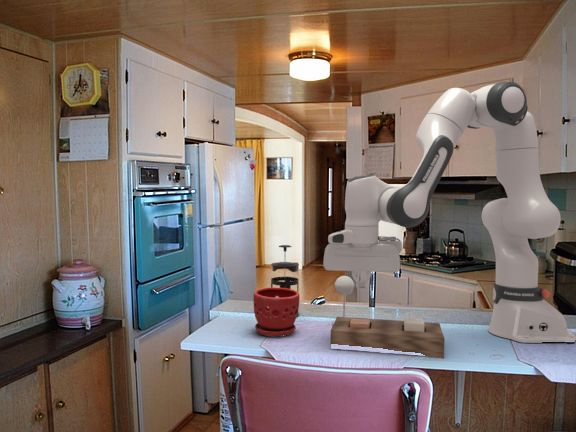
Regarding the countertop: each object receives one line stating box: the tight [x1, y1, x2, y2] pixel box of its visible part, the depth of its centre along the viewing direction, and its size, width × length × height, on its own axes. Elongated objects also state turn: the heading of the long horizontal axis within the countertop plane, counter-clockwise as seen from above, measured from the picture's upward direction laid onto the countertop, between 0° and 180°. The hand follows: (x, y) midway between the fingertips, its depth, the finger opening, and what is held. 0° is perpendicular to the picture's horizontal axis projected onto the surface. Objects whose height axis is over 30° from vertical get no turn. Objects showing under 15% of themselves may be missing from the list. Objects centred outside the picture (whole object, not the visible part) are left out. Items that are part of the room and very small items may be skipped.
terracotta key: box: [350, 317, 370, 329], centre depth 133 cm, size 5×5×4 cm
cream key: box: [403, 317, 425, 332], centre depth 130 cm, size 5×5×4 cm
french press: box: [270, 244, 300, 318], centre depth 161 cm, size 12×9×23 cm
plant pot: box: [253, 286, 300, 337], centre depth 142 cm, size 13×13×12 cm
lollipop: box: [334, 275, 356, 317], centre depth 151 cm, size 6×6×15 cm
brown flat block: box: [329, 316, 445, 359], centre depth 132 cm, size 28×14×5 cm, turn 78°
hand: (361, 287), depth 132 cm, fingers closed
